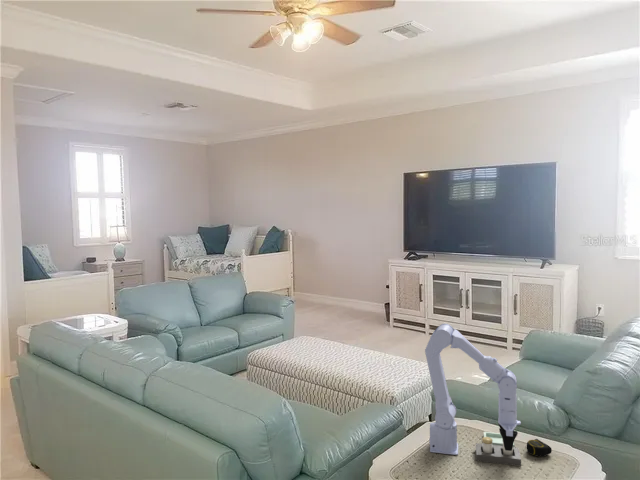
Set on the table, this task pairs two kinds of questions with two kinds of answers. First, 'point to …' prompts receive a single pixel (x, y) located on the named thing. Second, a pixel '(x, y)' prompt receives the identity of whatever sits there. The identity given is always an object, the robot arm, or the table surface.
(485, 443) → the cylinder
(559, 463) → the table surface
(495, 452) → the socket block
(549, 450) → the tape measure
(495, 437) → the parts tray
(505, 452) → the cylinder
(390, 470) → the table surface
